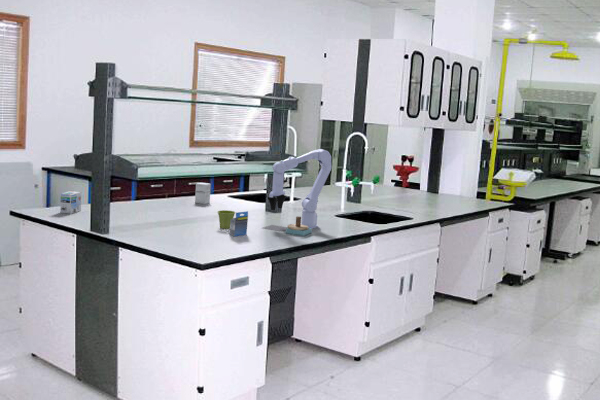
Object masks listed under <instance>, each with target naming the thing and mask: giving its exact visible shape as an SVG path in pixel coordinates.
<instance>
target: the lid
mask: <svg viewBox="0 0 600 400" xmlns="http://www.w3.org/2000/svg"><path fill="white" fill-rule="evenodd" d="M301 223H302V216H296V217H295V223H290V224H287V226H286V227H287V228H289V229H292V230H308V226H306V225H301Z"/></svg>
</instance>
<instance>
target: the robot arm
mask: <svg viewBox="0 0 600 400" xmlns="http://www.w3.org/2000/svg"><path fill="white" fill-rule="evenodd" d="M309 160H315V161H318V162H319V165H320V167H321V168H320V170H319V172H318V174H317V177H316V178H315V180H314V183H313V185H312V188H311V189H310V192H309V193H308V194H307V195H306V197H305V198H303V200H302V202H301V207H302V210H301V225H306V226H308V228H312V230H313V229H315V228H318V227H319V225H317V223H318V213H317V212H316V210H317V208H318V207H317V206H318V202H319V196H320V193H321V192H322V189H323V188H324V186H325V183H326V182H327V179H328V177H329V175H330V172H331V170H332V155H331V153H330V152H329V151H328V150H325V149H323V148H318V149H314V150H311V151H310V152H307V153H304V154H302V155H300V156H298V157H294V156H288V158H286V159H283V160H282V159H281V160H280V161H277V162H274V164H272V165H273V166H272V168H271V169H272V170H273V177H272V191H270V193H269V195H268V196H267V199H268V202H269V206H270V210H271V211H276V208H277V209H282V208H283V205H284V202H285V200H286V198H287V195H286V191H285V190H284V180H285V179H284V174H285V172H286V171H290V170H292V169H295V168H296V167H298V165H299V164H301V163H304V162H306V161H307V162H308V161H309ZM276 206H277V207H276Z"/></svg>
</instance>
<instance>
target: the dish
mask: <svg viewBox="0 0 600 400" xmlns="http://www.w3.org/2000/svg"><path fill="white" fill-rule="evenodd" d="M312 231H313V229H312V228H308V230H292V229H289V228H286V230H285V233H286V234H287V235H293V236H300V237H306V236H310V235H311V234H312Z"/></svg>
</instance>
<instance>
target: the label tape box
mask: <svg viewBox="0 0 600 400" xmlns="http://www.w3.org/2000/svg"><path fill="white" fill-rule="evenodd" d="M248 221H249V211H248V210H247V211H239V212H235V217H233V219H231V221H230V228H229V236H231V237H238V236H240V237H241V236H245V235H247V232H248Z"/></svg>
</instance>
